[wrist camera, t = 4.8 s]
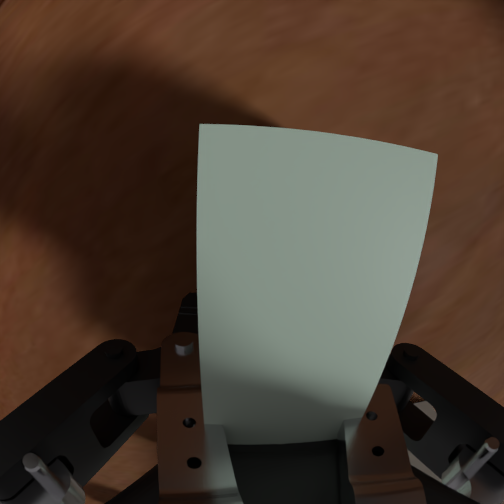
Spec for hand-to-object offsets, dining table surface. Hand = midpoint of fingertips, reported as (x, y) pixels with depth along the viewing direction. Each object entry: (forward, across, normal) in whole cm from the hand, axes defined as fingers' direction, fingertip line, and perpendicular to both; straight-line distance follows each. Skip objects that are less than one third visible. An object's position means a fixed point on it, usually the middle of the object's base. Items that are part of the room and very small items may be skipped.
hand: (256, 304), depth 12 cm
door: (+2, 0, 0) cm, 2 cm away
